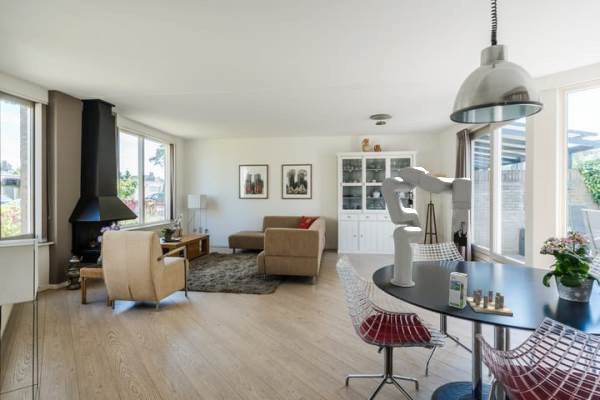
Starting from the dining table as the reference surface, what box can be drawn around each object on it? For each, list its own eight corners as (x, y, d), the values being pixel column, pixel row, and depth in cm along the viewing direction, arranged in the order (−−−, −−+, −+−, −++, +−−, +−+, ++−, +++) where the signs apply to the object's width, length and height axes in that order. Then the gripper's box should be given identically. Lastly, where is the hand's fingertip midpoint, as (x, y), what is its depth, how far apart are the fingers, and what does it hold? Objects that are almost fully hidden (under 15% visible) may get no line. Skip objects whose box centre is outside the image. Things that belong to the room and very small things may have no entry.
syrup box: (448, 305, 135) (449, 273, 135) (453, 302, 139) (454, 271, 139) (462, 309, 131) (463, 276, 131) (466, 306, 135) (468, 273, 135)
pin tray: (465, 299, 144) (466, 286, 144) (499, 302, 140) (500, 289, 140) (475, 311, 129) (475, 297, 129) (513, 316, 125) (513, 301, 125)
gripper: (448, 205, 143) (446, 241, 144) (455, 206, 127) (454, 247, 127) (465, 205, 141) (464, 242, 142) (476, 207, 125) (474, 248, 125)
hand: (459, 244), depth 134 cm, fingers open, 9 cm apart
